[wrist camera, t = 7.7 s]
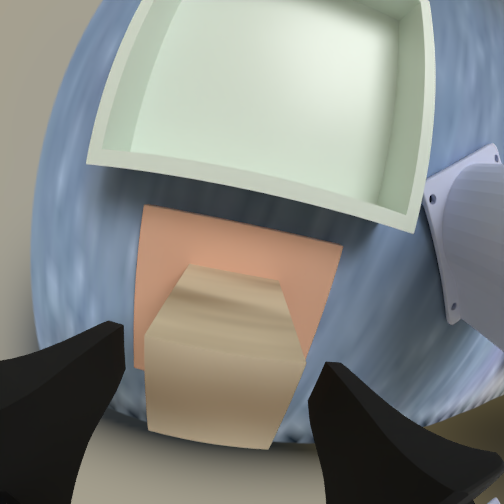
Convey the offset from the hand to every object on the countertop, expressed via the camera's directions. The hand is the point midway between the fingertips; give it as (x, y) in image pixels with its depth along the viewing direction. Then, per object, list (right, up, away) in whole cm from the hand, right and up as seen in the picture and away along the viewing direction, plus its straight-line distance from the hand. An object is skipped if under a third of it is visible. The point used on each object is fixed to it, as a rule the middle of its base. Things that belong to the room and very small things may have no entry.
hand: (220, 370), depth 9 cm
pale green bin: (+2, +13, +1) cm, 13 cm away
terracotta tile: (0, +1, +4) cm, 4 cm away
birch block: (0, +1, +4) cm, 4 cm away
